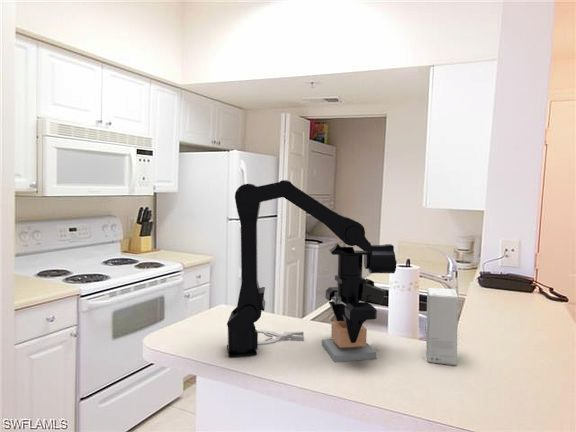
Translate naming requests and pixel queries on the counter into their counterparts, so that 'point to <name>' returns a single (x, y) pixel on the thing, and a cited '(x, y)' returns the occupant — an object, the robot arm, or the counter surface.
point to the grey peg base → (348, 351)
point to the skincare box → (442, 326)
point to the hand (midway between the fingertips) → (348, 337)
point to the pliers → (281, 336)
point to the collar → (346, 335)
